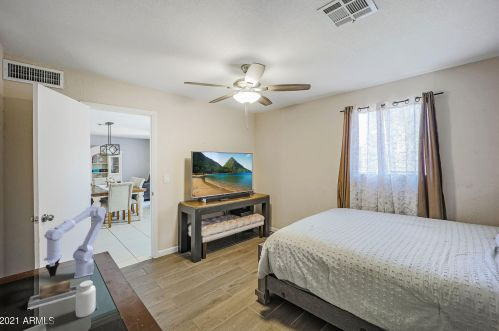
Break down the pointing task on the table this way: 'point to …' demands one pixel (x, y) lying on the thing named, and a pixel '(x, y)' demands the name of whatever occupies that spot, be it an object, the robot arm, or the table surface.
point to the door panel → (54, 289)
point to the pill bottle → (85, 299)
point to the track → (52, 298)
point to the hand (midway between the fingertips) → (53, 272)
